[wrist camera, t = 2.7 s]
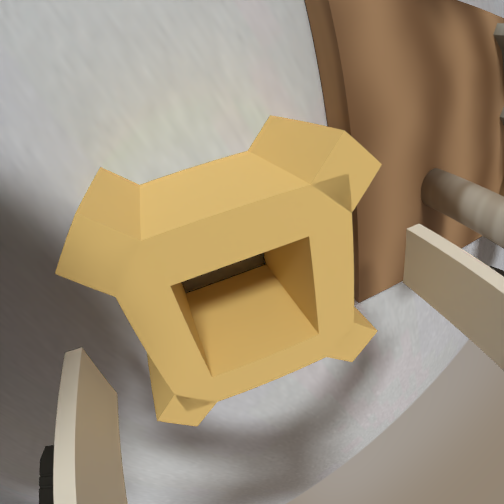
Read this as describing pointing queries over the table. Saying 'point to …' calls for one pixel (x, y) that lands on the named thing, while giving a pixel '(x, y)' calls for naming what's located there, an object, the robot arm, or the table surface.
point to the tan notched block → (226, 253)
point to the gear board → (416, 121)
